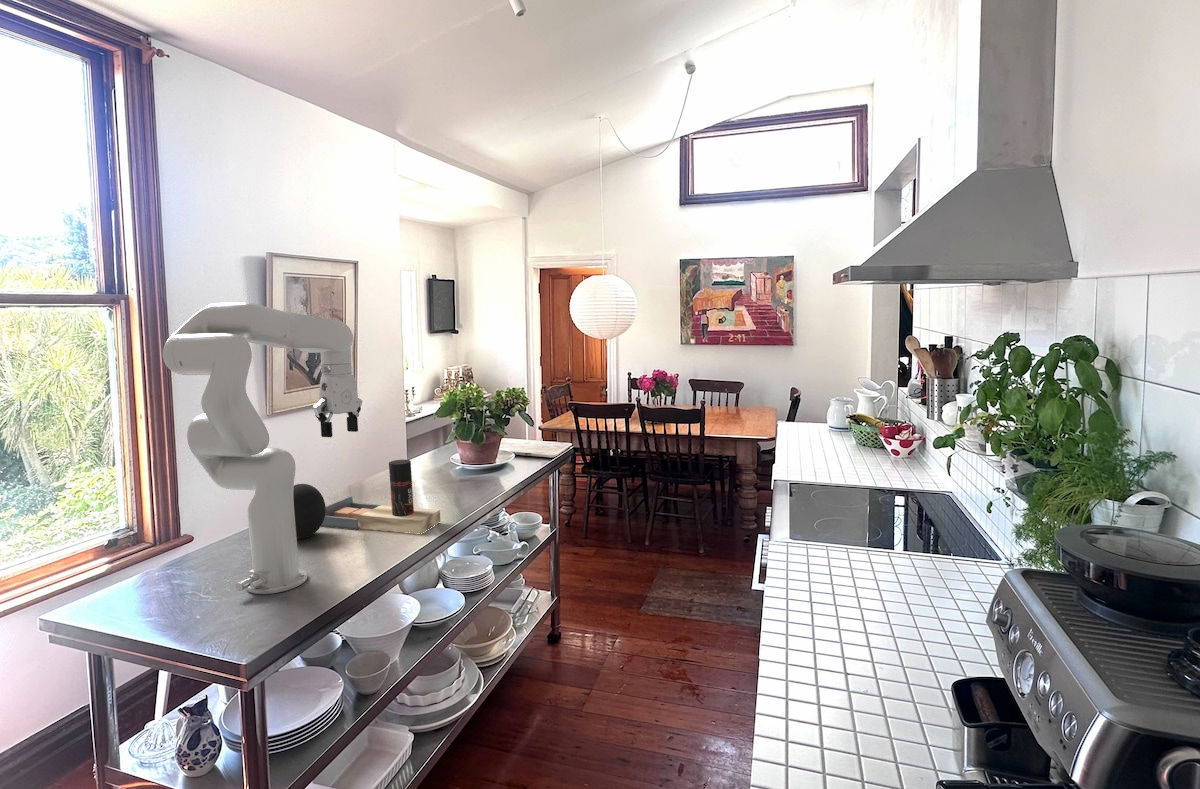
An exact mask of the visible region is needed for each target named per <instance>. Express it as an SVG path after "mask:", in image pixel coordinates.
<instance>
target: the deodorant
mask: <svg viewBox="0 0 1200 789" xmlns="http://www.w3.org/2000/svg"><path fill="white" fill-rule="evenodd" d="M388 471H389V486H390V487H389V488H390V500H391V502H390V503H391V506H392V515H393V516H408V515H411V514H413V513H414V508H415V507H414V494H413V493H414V492H413V480H412V479H413V477H412V462H411V460H410V459H395V460H391V461H389V462H388Z"/></svg>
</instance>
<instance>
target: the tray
mask: <svg viewBox="0 0 1200 789" xmlns="http://www.w3.org/2000/svg"><path fill="white" fill-rule="evenodd" d="M380 505H381V504H378V503H377V504H376V503H375V504H374V503H366V502H365V503H364V502H363V503H362V502H355V501H353V495H350V496H346V497H344V498H342V499H339V500H336V501H335V502H332V503H330V504H327V505H325V506H326V513H325V518H324V521H323V523H322V525H321V527H324V526H325V527H327V528H334V527H338V529H344V528H348V529H347V530H354V529H357V530H359V529H360V522H358V519H355V518H345V517H334V512H335V511H337V510H340V509H342V508H345V507H349V508H358V509H362V508H365V509H374V508H376V507H378V506H380ZM325 527H324V528H325ZM358 528H359V529H358Z"/></svg>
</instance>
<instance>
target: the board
mask: <svg viewBox="0 0 1200 789" xmlns="http://www.w3.org/2000/svg"><path fill="white" fill-rule="evenodd" d="M379 505H380V506H378V507H376V508H374V509H372V510H370V511H368V512H365V513H363V514H361V515H360V528H359V529H360V530H367V529H373V530H372V531H377V530H384V531H383V532H387V531H394V532H393V533H397V532H408V533H409V532H410V533H420V534H421V533H423V532H425V531H426V530H428V529H430V528H431V527H433V526H434V525H436V524H438V523H439V522H441V510H440V509H433V508H432V509H431V508H420V507H419V508H418V507H417V508H416V507H414V513H413V514H411V515H408V516H393V515H392V505H385V504H379ZM441 523H442V522H441ZM430 530H431V529H430ZM425 533H426V532H425Z"/></svg>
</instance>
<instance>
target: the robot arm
mask: <svg viewBox="0 0 1200 789" xmlns="http://www.w3.org/2000/svg"><path fill="white" fill-rule="evenodd" d="M353 335H354V334H353V332H352V330H351V328H350V327H349V325H347V324H346V323H345V322H342V321H339V320H336V319H331V318H327V317H322V316H319V317H318V316H313V315H306V314H301V313H294V312H290V311H289V312H288V311H284V310H280V309H276V308H273V307H269V306H265V305H262V304H257V303H252V302H220V303H219V302H218V303H217V302H216V303H215V302H214V303H209V304H208V305H205V307H203V308H200V310H199V311H196V313H195V314H193V315H192V316H191V317H190V318H188V320H187V321H185V322H184V323H183V324H182V325H180V327H178V328H177V329H176V331H174V332H173V333H172V334H171V336H169V337H168V339H167V340H166V342H165V344H164V346H163V348H162V359H163V362H164V364H165V366H166V367H167V368H168V369H169V370H170V371H171V372H173V373H175V374H177V375H182V376H209V378H208V381H207V384H206V386H205V388H204V391H203V392H202V396H201V401H200V405H201V409H202V411H203V413H201V414H199V415H196V417H194V418H192V420H191V421H190V423H189V425H188V427H187V434H186V439H187V445H188V448H189V450H190V452H191V453H192V454H193V456H194V458H196V460H197V462H198V463H199V464H200V466H201V467H202V468H203V469H204V471H205V472H206V474H207V475H208V476H209V478H211V480H212V481H213V483H215V484H216V485H217V486H218V487H220V488H222V489H225V490H234V491H235V490H237V491H238V490H239V491H254V495H253V497H252V498H251V501H250V503H249V504H248V507H247V512H246V514H247V515H246V517H247V525H248V534H249V535H248V536H249V545H250V555H251V568H252V569H251V570H248V576H247V577H246V579H242V580H241V581H238V582H236V583H235V588H236V591H238V592H242V591H244V590H245V589H246V590H247V592H249V593H251V594H255V595H269V594H278V593H282V592H286V591H289V590H292V589H295V588H296V587H299V586H301V585H302V584H303V583H305V582H306V581H307V579H308V572H307V570H305V569H303V568H300V563H299V562H300V561H299V551H298V550H299V549H298V540H297V539H298V538H297V537H296V525H295V513H294V499H293V490H294V485H295V478H296V477H295V476H296V460H295V458H294V456H293V455H292V454H291V453H290V452H289V451H287V450H286V449H282V448H279V447H278V448H277V447H268V446H269V444H270V434H269V431H268V428H267V427H266V425H265V423H264V421H263V419H262V418H261V416H260V415H259V413H258V412H257V410H256V408H255V407H254V405H253V404H252V401H251V400H250V398H249V396H248V394H247V380H248V376H249V372H250V371H249V370H250V367H251V364H252V358H253V353H252V347H251V345H250V343H251V344H255V345H263V346H268V347H273V348H279V349H296V350H297V349H298V351H300V352H303V353H307V354H319V353H320V365H321V366H320V370H319V371H320V373H321V376H320V382H319V395H318V396H319V401H317V403H316V404H314V405H313V406H312V410H313V413H314V414H315V415H314V416H315V418H317V421H318V422H319V423H320V435H321V438H332V437H333V423H332V421H331V419H332V418H333V415H341V414H346V415H347V416H346V428H347V429H346V430H347V432H350V433H351V432H353V433H356V432H359V423H358V422H359V421H358V417H360V412H361V410H362V408H361V407H362V405H363V399H361V398H359V395H358V394H359V393H358V388H357V387H358V386H357V381H356V378H355V375H354V374H353V368H352V365H353V364H352V348H351V347H352V346H353V342H354V336H353Z"/></svg>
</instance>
